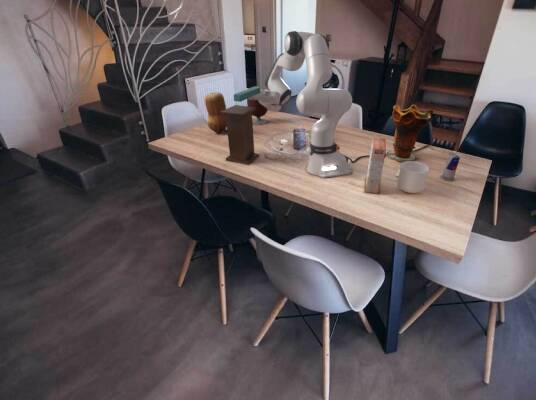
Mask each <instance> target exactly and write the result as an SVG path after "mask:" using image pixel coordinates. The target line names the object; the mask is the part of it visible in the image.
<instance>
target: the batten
mask: <svg viewBox="0 0 536 400" xmlns="http://www.w3.org/2000/svg"><path fill="white" fill-rule="evenodd" d="M259 89H262V86H252V87H250V88H249V89H247V90H242V91H240V92H236V93H234V94H233V101H234V102H239V103H240V102H243V101H245V100H248V98H250V97H252V96H255V95H257V94H259V92H258V90H259Z"/></svg>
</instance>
